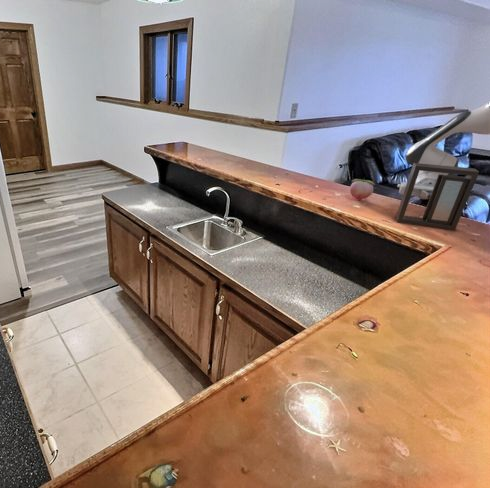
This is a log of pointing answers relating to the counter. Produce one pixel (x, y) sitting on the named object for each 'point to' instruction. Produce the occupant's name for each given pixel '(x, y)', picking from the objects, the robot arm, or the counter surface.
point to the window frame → (440, 196)
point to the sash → (434, 195)
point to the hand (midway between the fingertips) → (433, 197)
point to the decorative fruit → (361, 188)
